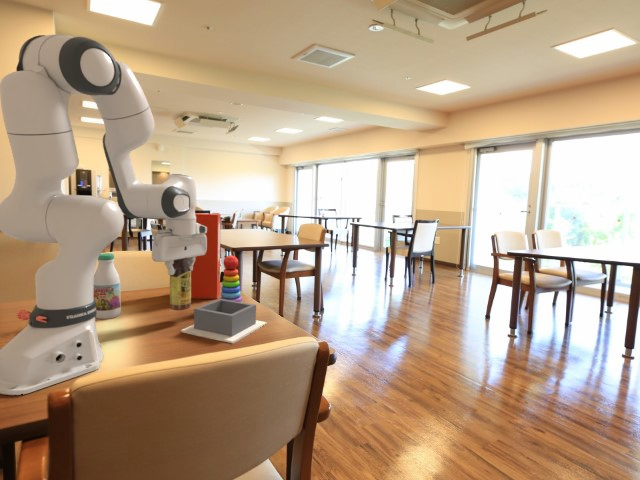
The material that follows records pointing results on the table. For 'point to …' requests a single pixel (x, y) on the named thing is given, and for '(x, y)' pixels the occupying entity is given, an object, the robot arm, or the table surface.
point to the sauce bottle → (180, 285)
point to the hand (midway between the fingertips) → (180, 272)
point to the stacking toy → (231, 280)
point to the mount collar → (224, 321)
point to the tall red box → (207, 261)
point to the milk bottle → (107, 288)
